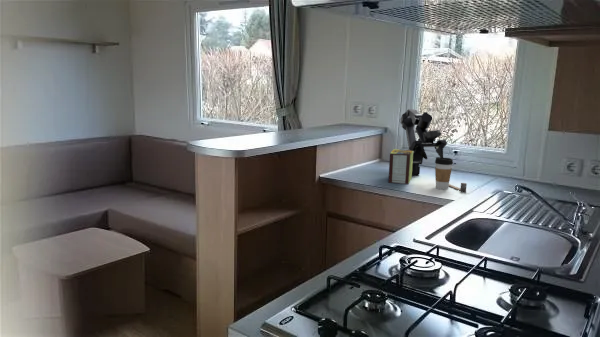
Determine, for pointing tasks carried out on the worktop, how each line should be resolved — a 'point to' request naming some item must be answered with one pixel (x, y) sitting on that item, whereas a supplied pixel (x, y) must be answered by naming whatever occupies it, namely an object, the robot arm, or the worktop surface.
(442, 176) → the coffee cup
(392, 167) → the protein box
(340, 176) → the worktop surface
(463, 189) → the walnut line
